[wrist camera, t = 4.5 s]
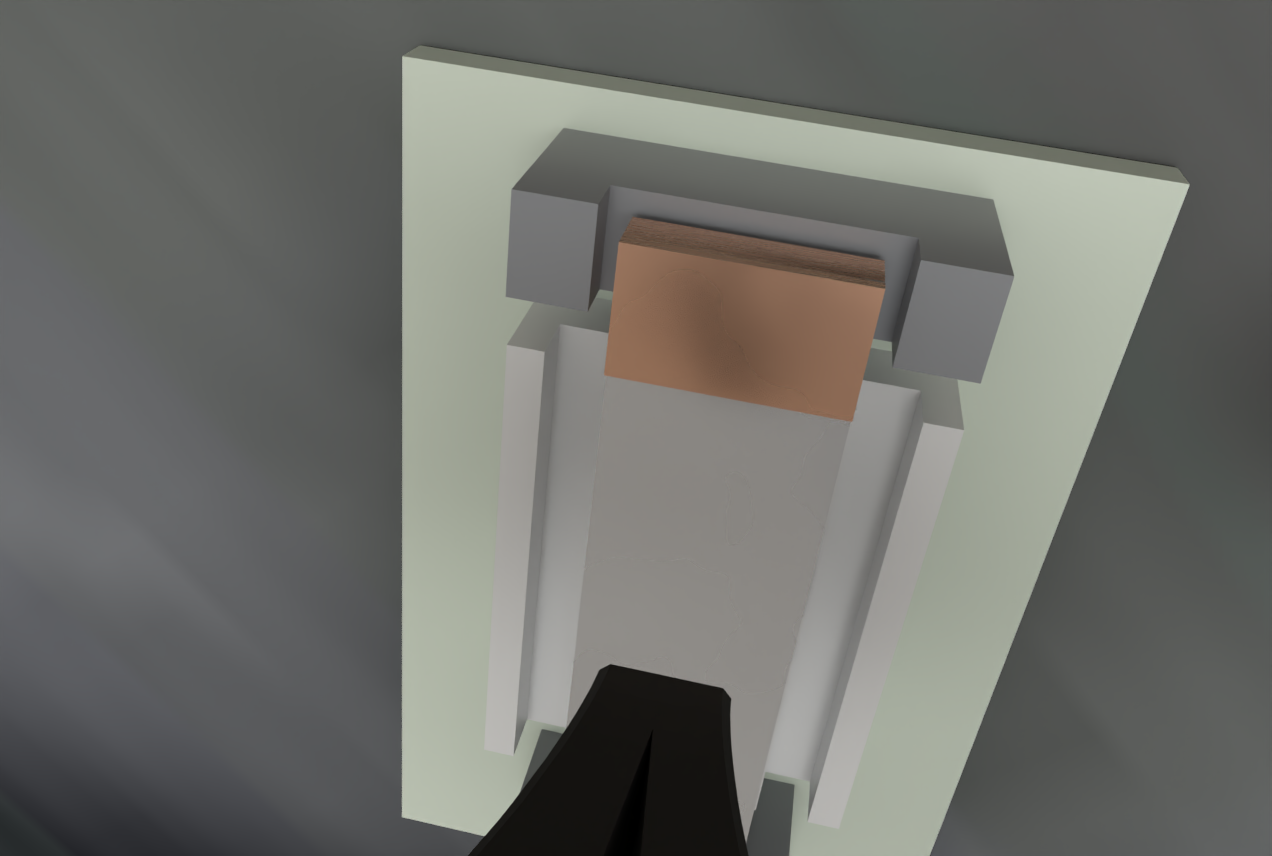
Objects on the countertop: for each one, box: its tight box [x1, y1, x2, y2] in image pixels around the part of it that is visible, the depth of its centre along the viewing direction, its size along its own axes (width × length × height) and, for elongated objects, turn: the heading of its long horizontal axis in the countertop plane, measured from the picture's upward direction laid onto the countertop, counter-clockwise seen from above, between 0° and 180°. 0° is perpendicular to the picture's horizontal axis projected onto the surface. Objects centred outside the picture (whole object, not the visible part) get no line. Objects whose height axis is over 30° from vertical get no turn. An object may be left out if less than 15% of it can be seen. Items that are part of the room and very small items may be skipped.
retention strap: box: [566, 217, 885, 841], centre depth 19 cm, size 14×4×1 cm, turn 173°
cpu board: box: [402, 45, 1190, 856], centre depth 21 cm, size 18×12×4 cm, turn 173°
